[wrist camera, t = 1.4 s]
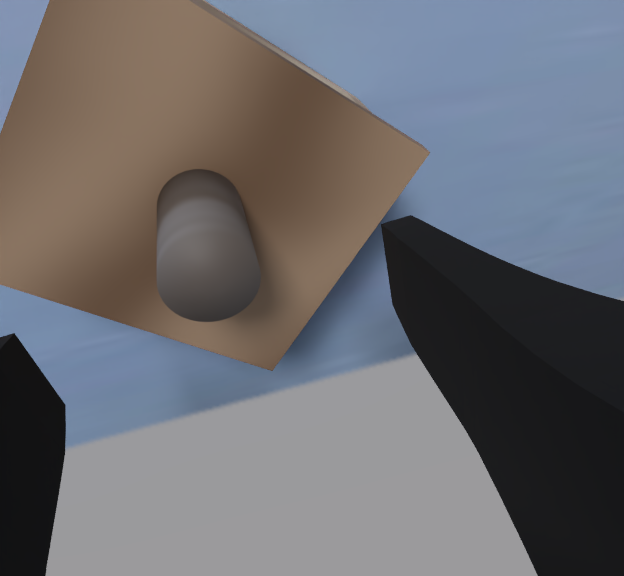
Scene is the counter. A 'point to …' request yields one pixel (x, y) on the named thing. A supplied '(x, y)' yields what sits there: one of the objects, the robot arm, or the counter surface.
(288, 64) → the lid
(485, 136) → the counter surface
